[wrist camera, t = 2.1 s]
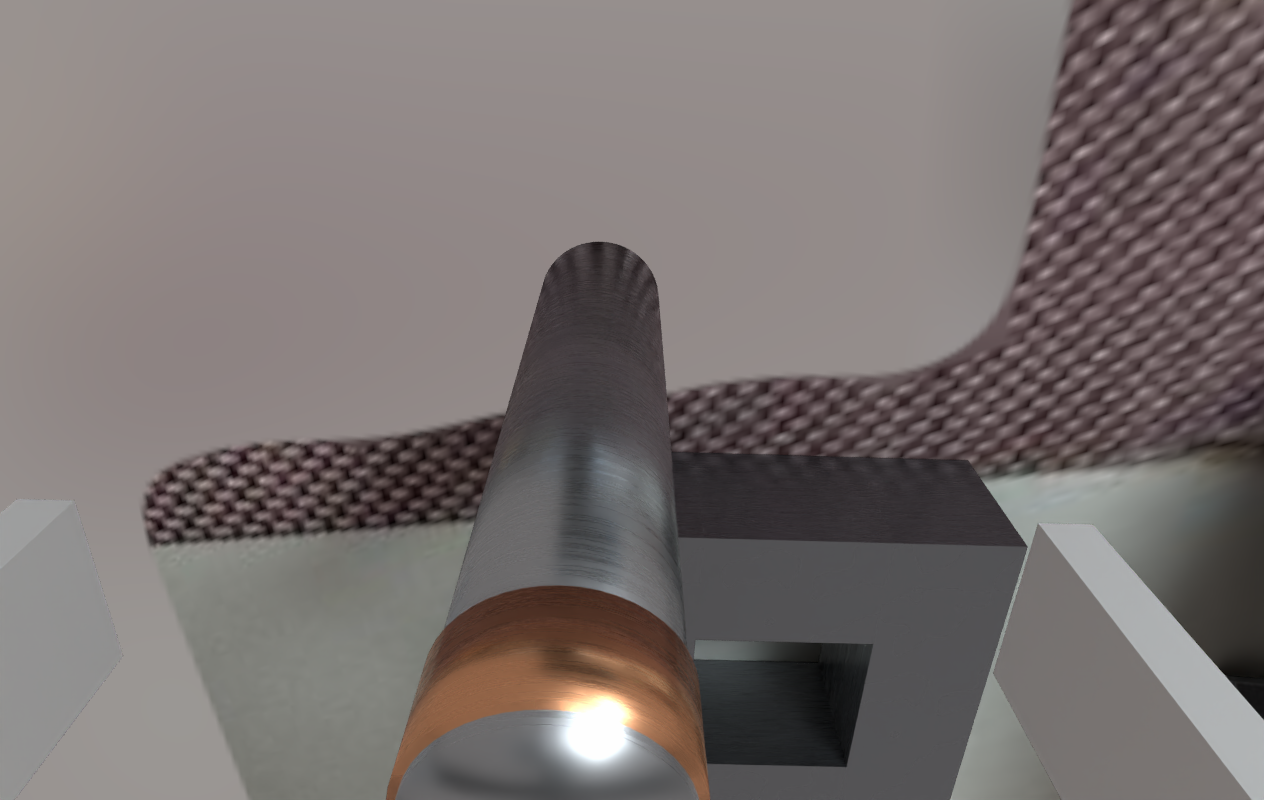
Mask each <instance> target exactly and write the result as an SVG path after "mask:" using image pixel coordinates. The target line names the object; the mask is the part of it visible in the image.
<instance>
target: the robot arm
mask: <svg viewBox="0 0 1264 800" xmlns="http://www.w3.org/2000/svg"><path fill="white" fill-rule="evenodd" d="M122 657H123V654H122V650H121V647H120V644H119V641H118V637H117V634H116V631H115V628H114V625H113V622H112V618H111V615H110V612H109V609H108V606H107V602H106V599H105V596H104V593H103V590H102V587H101V583H100V580H99V577H98V574H97V570H96V567H95V564H94V561H93V558H92V555H91V551H90V548H89V545H88V541H87V539H86V535H85V532H84V529H83V526H82V522H81V519H80V516H79V513H78V510H77V506H76V503H75V501H74V500H39V499H38V500H37V499H16V500H15V501H14V502H13V503H12V504H10V505H9V506H8V507H7V508H6V509H4V510H3V511H2V512H1V513H0V800H15V799H16V798H17V796H18V795H19V794H20V792H21V791H22V790H23V788H24V787H25V786H26V784H27V783H28V782H29V780H30V779H31V778H32V776H33V775H34V774H35V772H36V771H37V770H38V768H39V767H40V766H41V764H42V763H43V762H44V760H45V759H46V758H47V756H48V755H49V754H50V752H51V751H52V750H53V749H54V747H55V746H56V745H57V743H58V742H59V741H60V739H61V738H62V737H63V735H64V734H65V733H66V731H67V730H68V729H69V727H70V726H71V725H72V723H73V722H74V721H75V719H76V718H77V717H78V715H79V714H80V712H81V711H82V710H83V709H84V707H85V706H86V705H87V703H88V702H89V701H90V699H91V698H92V697H93V695H94V694H95V693H96V691H97V690H98V689H99V687H100V686H101V685H102V683H103V682H104V681H105V679H106V678H107V677H108V675H109V674H110V673H111V671H112V670H113V669H114V667H115V666H116V665H117V663H118V662H119V661H120V660H121V658H122ZM993 674H994V676H995V677H996V679H997V681H998V683H999V685H1000V687H1001V689H1002V690H1003V692H1004V694H1005V696H1006V698H1007V700H1008V702H1009V703H1010V705H1011V707H1012V709H1013V711H1014V713H1015V715H1016V716H1017V718H1018V720H1019V722H1020V724H1021V726H1022V728H1023V730H1024V731H1025V733H1026V735H1027V737H1028V739H1029V741H1030V743H1031V744H1032V746H1033V748H1034V750H1035V752H1036V754H1037V756H1038V757H1039V759H1040V761H1041V763H1042V765H1043V767H1044V769H1045V770H1046V772H1047V774H1048V776H1049V778H1050V780H1051V782H1052V783H1053V785H1054V787H1055V789H1056V791H1057V793H1058V795H1059V797H1060V798H1061V800H1264V720H1263V719H1262V718H1261V716H1260V715H1259V714H1258V713H1257V712H1256V711H1255V710H1254V708H1253V707H1252V706H1251V705H1250V704H1249V703H1248V702H1247V700H1246V699H1245V698H1244V697H1243V696H1242V695H1241V694H1240V692H1239V691H1238V690H1237V689H1236V688H1235V687H1234V686H1233V684H1232V683H1231V682H1230V681H1229V680H1228V679H1227V677H1226V676H1225V675H1224V674H1223V673H1222V672H1221V671H1220V669H1219V668H1218V667H1217V666H1216V665H1215V664H1214V663H1213V661H1212V660H1211V659H1210V658H1209V657H1208V656H1207V655H1206V653H1205V652H1204V651H1203V650H1202V649H1201V648H1200V647H1199V645H1198V644H1197V643H1196V642H1195V641H1194V640H1193V639H1192V637H1191V636H1190V635H1189V634H1188V633H1187V632H1186V630H1185V629H1184V628H1183V627H1182V626H1181V625H1180V624H1179V622H1178V621H1177V620H1176V619H1175V618H1174V617H1173V616H1172V614H1171V613H1170V612H1169V611H1168V610H1167V609H1166V608H1165V606H1164V605H1163V604H1162V603H1161V602H1160V601H1159V600H1158V598H1157V597H1156V596H1155V595H1154V594H1153V593H1152V592H1151V590H1150V589H1149V588H1148V587H1147V586H1146V585H1145V584H1144V582H1143V581H1142V580H1141V579H1140V578H1139V577H1138V575H1137V574H1136V573H1135V572H1134V571H1133V570H1132V569H1131V567H1130V566H1129V565H1128V564H1127V563H1126V562H1125V561H1124V559H1123V558H1122V557H1121V556H1120V555H1119V554H1118V553H1117V551H1116V550H1115V549H1114V548H1113V547H1112V546H1111V545H1110V543H1109V542H1108V541H1107V540H1106V539H1105V538H1104V537H1103V535H1102V534H1101V533H1100V532H1099V531H1098V530H1097V528H1096V527H1095V526H1094V525H1093V524H1052V523H1038V525H1037V529H1036V532H1035V535H1034V539H1033V542H1032V545H1031V549H1030V552H1029V555H1028V559H1027V562H1026V565H1025V569H1024V572H1023V575H1022V579H1021V582H1020V585H1019V589H1018V592H1017V595H1016V599H1015V602H1014V605H1013V609H1012V612H1011V615H1010V619H1009V622H1008V625H1007V629H1006V632H1005V635H1004V639H1003V642H1002V645H1001V649H1000V652H999V655H998V659H997V662H996V665H995V669H994V672H993Z"/></svg>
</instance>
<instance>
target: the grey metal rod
mask: <svg viewBox="0 0 1264 800" xmlns="http://www.w3.org/2000/svg"><path fill="white" fill-rule="evenodd" d="M386 800H710V792H709V782H708V771H707V760H706V750H705V739H704V729H703V718H702V708H701V697H700V687H699V680H698V674H697V670H696V667H695V664H694V661H693V659H692V657H691V655H690V653H689V651H688V648H687V635H686V623H685V611H684V599H683V587H682V575H681V563H680V551H679V539H678V527H677V514H676V502H675V490H674V478H673V466H672V454H671V442H670V430H669V418H668V406H667V394H666V381H665V369H664V359H663V345H662V333H661V321H660V309H659V297H658V289H657V285H656V281H655V278H654V276H653V274H652V272H651V270H650V269H649V267H648V266H647V264H646V263H645V262H644V261H643V260H642V259H641V258H640V257H639V256H638V255H636V254H635V253H633V252H632V251H630V250H629V249H626V248H625V247H622V246H620V245H617V244H613V243H608V242H591V243H585V244H581V245H578V246H576V247H574V248H571V249H570V250H568V251H566V252H565V253H563V254H562V255H561V256H560V257H559V258H558V259H557V260H556V261H555V262H554V263H553V264H552V266H551V267H550V269H549V270H548V272H547V274H546V277H545V279H544V282H543V286H542V289H541V293H540V296H539V300H538V303H537V307H536V310H535V314H534V317H533V321H532V324H531V328H530V331H529V335H528V338H527V342H526V345H525V349H524V352H523V356H522V359H521V363H520V366H519V370H518V374H517V377H516V380H515V384H514V387H513V391H512V394H511V397H510V401H509V405H508V408H507V411H506V415H505V418H504V422H503V425H502V429H501V432H500V436H499V439H498V443H497V446H496V450H495V453H494V457H493V460H492V464H491V467H490V471H489V474H488V478H487V481H486V485H485V488H484V492H483V495H482V499H481V502H480V506H479V509H478V513H477V516H476V520H475V523H474V527H473V530H472V534H471V537H470V541H469V544H468V547H467V551H466V554H465V558H464V561H463V565H462V568H461V572H460V575H459V579H458V582H457V586H456V589H455V593H454V596H453V600H452V603H451V607H450V610H449V614H448V617H447V621H446V624H445V628H444V630H443V631H442V632H441V634H440V635H439V636H438V637H437V639H436V640H435V642H434V644H433V646H432V647H431V649H430V651H429V654H428V657H427V659H426V662H425V665H424V668H423V672H422V675H421V678H420V682H419V685H418V688H417V692H416V695H415V698H414V702H413V705H412V708H411V712H410V715H409V718H408V722H407V725H406V728H405V732H404V735H403V738H402V742H401V745H400V748H399V752H398V755H397V758H396V762H395V765H394V768H393V772H392V775H391V778H390V782H389V785H388V790H387V797H386Z"/></svg>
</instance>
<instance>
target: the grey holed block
mask: <svg viewBox="0 0 1264 800" xmlns="http://www.w3.org/2000/svg"><path fill="white" fill-rule="evenodd" d="M671 454H672V466H673V478H674V490H675V502H676V514H677V527H678V539H679V551H680V563H681V575H682V587H683V599H684V611H685V623H686V635H687V648H688V651H689V653H690V655H691V657H692V659H694V648H695V640H729V641H769V642H809V643H822V646H821V651H820V657H819V662H818V663H801V662H760V661H720V660H693V661H694V664H695V667H696V670H697V674H698V680H699V687H700V697H701V708H702V718H703V729H704V739H705V750H706V760H707V771H708V782H709V792H710V800H950V797H951V794H952V791H953V788H954V784H955V781H956V778H957V775H958V771H959V768H960V765H961V762H962V758H963V755H964V752H965V749H966V745H967V742H968V739H969V736H970V732H971V729H972V726H973V723H974V719H975V716H976V713H977V710H978V706H979V703H980V700H981V697H982V693H983V690H984V687H985V684H986V680H987V677H988V674H989V671H990V668H991V664H992V661H993V658H994V655H995V651H996V648H997V645H998V642H999V638H1000V635H1001V632H1002V629H1003V625H1004V622H1005V619H1006V616H1007V612H1008V609H1009V606H1010V603H1011V599H1012V596H1013V593H1014V590H1015V586H1016V583H1017V580H1018V577H1019V573H1020V570H1021V567H1022V564H1023V560H1024V557H1025V554H1026V551H1027V545H1026V544H1025V542H1024V541H1023V539H1022V538H1021V537H1020V535H1019V534H1018V532H1017V531H1016V529H1015V528H1014V526H1013V525H1012V524H1011V522H1010V521H1009V519H1008V518H1007V516H1006V515H1005V513H1004V512H1003V510H1002V509H1001V508H1000V506H999V505H998V503H997V502H996V500H995V499H994V497H993V496H992V495H991V493H990V492H989V490H988V489H987V487H986V486H985V484H984V483H983V482H982V480H981V479H980V477H979V476H978V474H977V473H976V471H975V470H974V469H973V467H972V466H971V464H970V463H969V461H968V460H933V459H898V458H863V457H828V456H793V455H758V454H723V453H687V452H671Z"/></svg>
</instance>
